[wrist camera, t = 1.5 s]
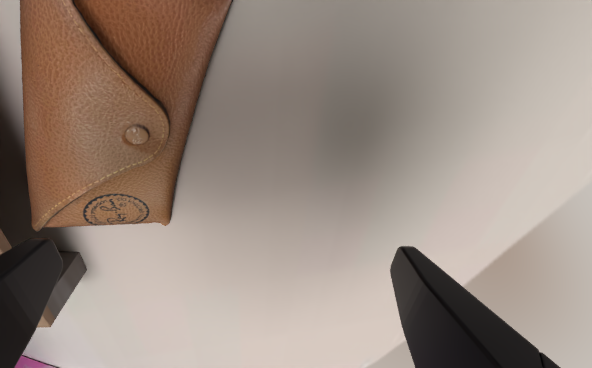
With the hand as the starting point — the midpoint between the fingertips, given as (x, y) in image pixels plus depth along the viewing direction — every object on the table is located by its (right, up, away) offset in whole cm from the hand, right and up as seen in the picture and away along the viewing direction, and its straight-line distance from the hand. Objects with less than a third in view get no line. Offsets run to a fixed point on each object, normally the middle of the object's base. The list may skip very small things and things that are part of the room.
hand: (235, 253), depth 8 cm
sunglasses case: (-8, +7, +10) cm, 15 cm away
